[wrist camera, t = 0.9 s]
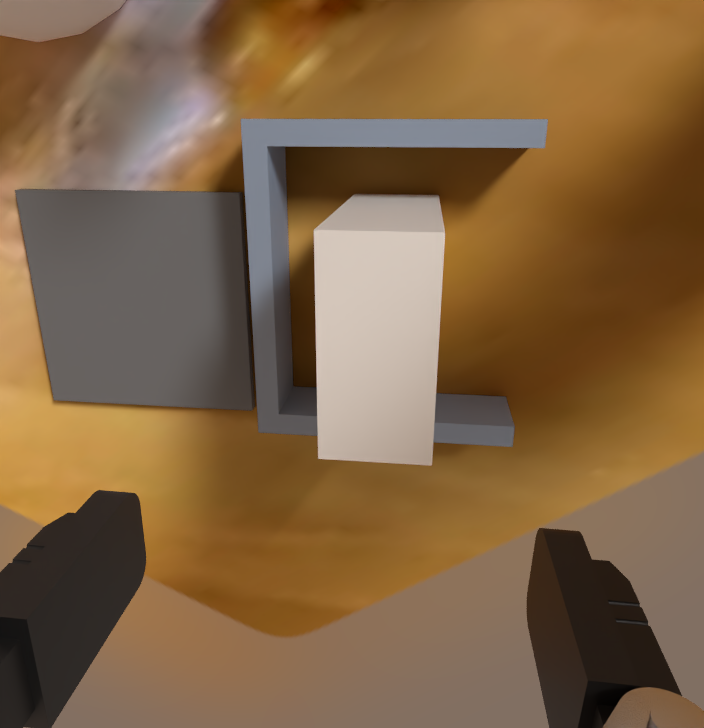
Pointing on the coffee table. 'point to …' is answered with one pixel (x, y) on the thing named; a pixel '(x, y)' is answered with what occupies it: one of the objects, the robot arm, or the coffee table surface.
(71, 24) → the canister
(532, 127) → the frame
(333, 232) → the packed carton
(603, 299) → the coffee table surface
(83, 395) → the rubber pad
